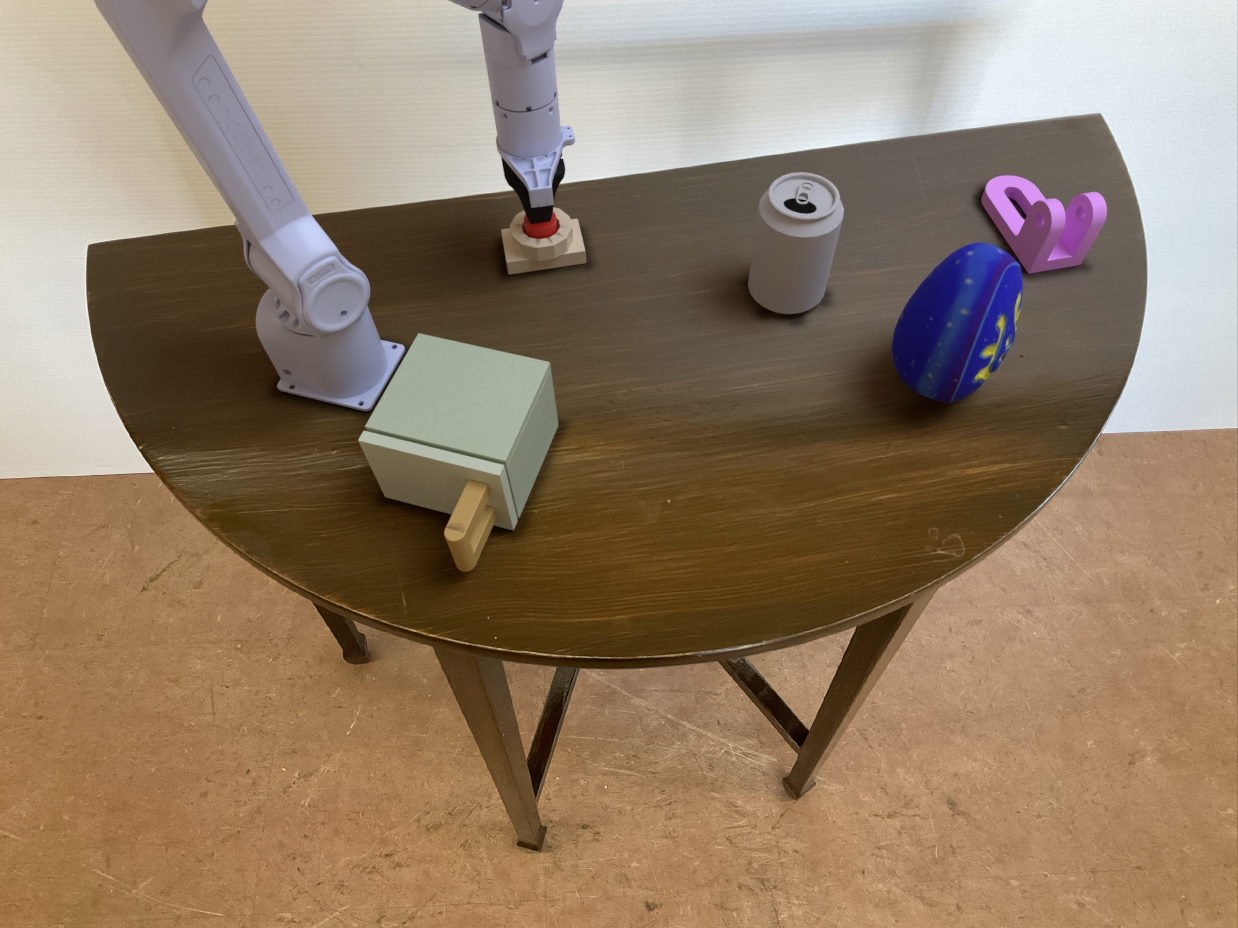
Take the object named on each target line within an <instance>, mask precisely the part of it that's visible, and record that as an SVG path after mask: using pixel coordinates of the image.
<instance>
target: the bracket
mask: <svg viewBox="0 0 1238 928" xmlns="http://www.w3.org/2000/svg"><path fill="white" fill-rule="evenodd" d="M1010 199H1012V200H1014V201H1015V202H1016V203H1017V204H1018V206H1019V207H1020V209H1021V210H1022V212H1023V213H1024V215H1025V216H1026V217H1025V219H1024V218H1023V217H1022V216H1021V214H1020V213H1019V212H1018V210H1017V208H1016V206H1014V204H1013V203H1012V202H1011V200H1010ZM980 200H981V205H982V206H983V208H984V210H985V211H986V212H987V213H986V214H988V215H989V217H990V219H991V220H992V221H993V223H994V225H995V226H996V228H997V229H998V231H999V232H1000V234H1001V235H1002V237H1003V238H1004V240H1005V241H1006V243H1007V244H1008V245H1009V247H1010V248H1011V250H1012V251H1013V253H1014V255H1015V256H1016V257H1017V259H1018V260H1019V263H1020V264H1021V265H1022V266H1023V268H1024V269H1025V271H1026V272H1027V274H1029V275H1030V274H1035V273H1041V272H1046V271H1047V272H1048V271H1053V270H1058V269H1065V268H1071V267H1076V266H1081V265H1082V264H1083V262H1084V259H1085V258H1086V256H1087V254H1088V253H1089V251H1090V249H1091V248H1092V246H1093V244H1094V243H1095V241H1096V239H1097V237H1098V236H1099V234H1100V232H1101V230H1102V229H1103V227H1104V224H1105V223H1106V221H1107V217H1108V208H1107V207H1108V206H1107V203H1106V200H1105V198H1104V196H1103V195H1102V194H1101V193H1100V192H1097V191H1090V192H1083V193H1078V194H1076V195H1075V196H1073V197H1072V199H1071V201H1070V202H1069V204H1068V206H1067V208H1066V210H1065V207H1064V204H1063V203H1062V202H1061V201H1060V200H1059V199H1057V198H1054V197H1053V198H1046V197H1045V195H1044V194H1043V193H1042V192H1041V191H1040V189H1039V187H1038V186H1037V185H1036V184H1034V183H1033V182H1031V181H1030V180H1028V179H1026V178H1024V177H1021V176H1017V175H1011V174H1007V175H1006V174H1005V175H998V176H995V177H993V178H992V179H990V180H989V181H988V182H987V183H986V185H985V188H984V191H983V192H982V194H981V199H980Z"/></svg>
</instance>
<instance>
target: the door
mask: <svg viewBox="0 0 1238 928" xmlns="http://www.w3.org/2000/svg"><path fill="white" fill-rule="evenodd" d="M357 442H358V444H359V446H360V448H361V450H362V453H363V454H364V456H365V459H366V461H367V462H368V465H369V467H370V469H371V471H372V473H373V475H374V477H375V479H376V481H377V483H378V485H379V488H380V489H381V492H382V494H383V495H384V498H387V499H390V500H393V501H398V502H402V503H406V504H410V505H414V506H418V507H421V508H424V509H425V508H426V509H429V510H432V511H437V512H441V513H445V514H448V515H450V517H449V520H448V522H447V524H446V526H445V528H444V531H443V536H444V539H445V541H446V544H447V546H448V548H449V551H450V553H451V556H452V559H453V561H454V563H455V566H456V568H457V570H459V571H461V572H465V573H466V572H471V571H472V570H474V568H475V567H476V566H477V564H478V561H479V559H480V557H481V554H482V552H483V550H484V548H485V546H486V543H487V541H488V538H489V536H490V534H491V532H492V529H493V527H499V528H503V529H505V530H510V531H514V530H515V528H516V526H517V524H518V521H519V520H518V519H519V518H517V515H516V511H515V507H514V503H513V499H512V495H511V491H510V487H509V482H508V478H507V474H506V470H505V466H504V465H502V464H498V463H494V462H490V461H486V460H482V459H478V458H474V457H470V456H466V455H461V454H457V453H453V452H449V451H445V450H441V449H437V448H433V447H429V446H425V445H421V444H417V443H413V442H409V441H404V440H400V439H396V438H392V437H388V436H384V435H380V434H376V433H372V432H368V431H367V430H363V431H362V432H361V434H360V436H359V438H358V439H357Z"/></svg>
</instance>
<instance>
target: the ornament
mask: <svg viewBox="0 0 1238 928" xmlns="http://www.w3.org/2000/svg"><path fill="white" fill-rule="evenodd" d="M1020 264H1021V263H1020V262H1018V261H1017V260H1016V259H1015V258H1014V257H1013V256H1012V255H1011V254H1010V253H1008V252H1007V251H1005V250H1003V249H1002V248H1001V247H999V246H998V245H995V244H993V243H988V242H987V243H986V242H973V243H969V244H966V245H964V246H961V247H959V248H958V249H956V250H955V251H952V252H951V253H950V254H949V255H948V256H946V257H945V258H944V259H943V260H942V261H941V262H940V263H939V264H937V266H935V267H934V268H933V269H932V271H931V272H929V274H928V275H927V276H926V277H925V278H924V279H923V281H922V282H921V283H920V285H918V286H917V288H916V290H914V292H913V294H912V295H911V296H910V298H909V299H908V300H907V302H906V304H905V306H904V307H903V309H902V311H901V313H900V315H899V317H898V319H897V323H896V324H895V327H894V330H893V335H892V342H891V354H892V361H893V366H894V368H895V370H896V372H897V373H898V375H899V378H901V380H902V381H903V382H904V383H905V384H906V385H907V386H908V387H909V388H910V389H911V390H913V391H914V392H916V393H917V394H919V395H921V396H923V397H924V398H928V399H931V400H933V401H935V402H941V403H945V404H952V403H956V402H958V401H961V400H963V399H965V398H967V397H969V396H970V395H972V394H973V393H975V392H976V391H977V390H979V388H980V387H981V386H982V385H983V384H984V383H985V382H986V381H987V380H988V378H989V377H990V374H991V373H995V372H996V371H997V370H998V369H999V366H1000V365H1001V363H1002V362H1004V360H1005V359H1006V357H1007V355H1008V353H1009V352H1010V349H1011V348H1012V346H1013V343H1014V342H1015V339H1016V332H1017V330H1018V327H1017V326H1018V322H1019V319H1020V315H1021V313H1022V303H1023V296H1024V295H1023V293H1024V283H1023V275H1022V270H1021V265H1020Z"/></svg>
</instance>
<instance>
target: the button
mask: <svg viewBox="0 0 1238 928" xmlns="http://www.w3.org/2000/svg"><path fill="white" fill-rule="evenodd" d="M524 225H525V231H526V235H527V236H528V237H530V238H535V239H544V238H549V237H551V236H553V235H554V234H556V233H557V231H558V230H557V221H556V215H555V213H554V212H553V213H552V218H551V221H550V222H543V223H536V224H530V222H529V221H528V218H527V216H526V215H525V216H524Z"/></svg>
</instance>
